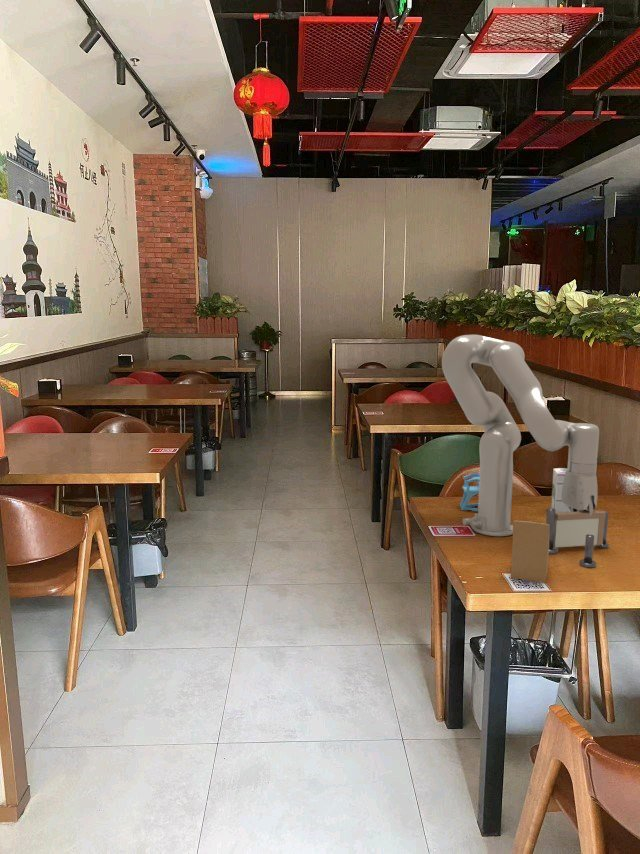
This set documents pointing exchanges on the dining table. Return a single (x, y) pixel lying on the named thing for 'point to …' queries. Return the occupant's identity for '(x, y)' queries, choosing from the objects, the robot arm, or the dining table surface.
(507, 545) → the dining table surface
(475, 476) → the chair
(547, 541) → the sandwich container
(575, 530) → the panel
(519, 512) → the dining table surface
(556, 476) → the syrup box
